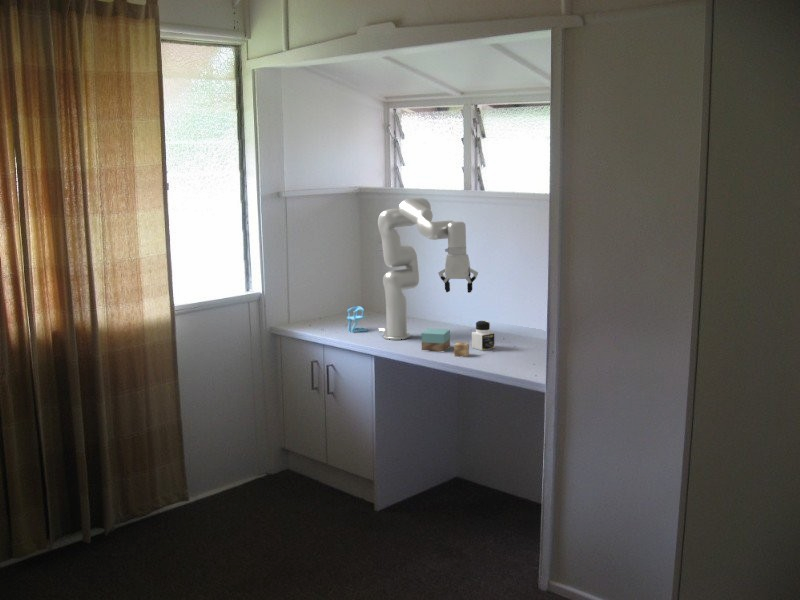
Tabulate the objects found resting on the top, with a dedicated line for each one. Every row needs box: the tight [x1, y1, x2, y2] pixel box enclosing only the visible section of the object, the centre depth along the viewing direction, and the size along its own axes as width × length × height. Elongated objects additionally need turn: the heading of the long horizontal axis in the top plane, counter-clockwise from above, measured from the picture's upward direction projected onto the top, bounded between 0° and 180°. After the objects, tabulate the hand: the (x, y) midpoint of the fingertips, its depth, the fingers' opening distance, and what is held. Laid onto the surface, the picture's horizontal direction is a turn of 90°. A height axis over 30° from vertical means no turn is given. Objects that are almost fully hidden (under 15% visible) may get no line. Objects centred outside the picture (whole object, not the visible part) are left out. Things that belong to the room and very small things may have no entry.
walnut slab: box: [421, 338, 451, 352], centre depth 368 cm, size 10×10×4 cm
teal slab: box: [421, 328, 451, 343], centre depth 367 cm, size 10×10×4 cm
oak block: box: [453, 341, 470, 358], centre depth 355 cm, size 5×5×5 cm
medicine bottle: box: [471, 320, 495, 351], centre depth 365 cm, size 7×7×12 cm
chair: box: [346, 305, 368, 333], centre depth 407 cm, size 8×8×12 cm
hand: (458, 292), depth 352 cm, fingers open, 9 cm apart
